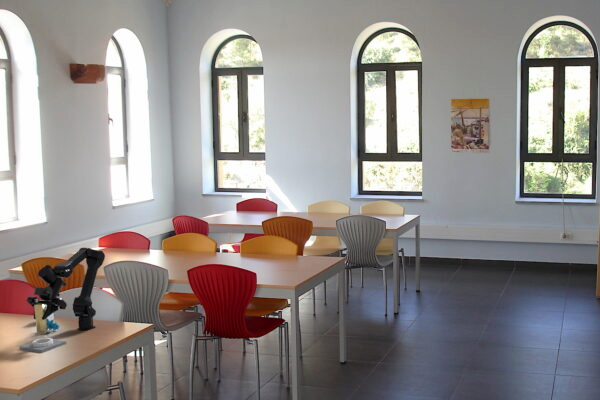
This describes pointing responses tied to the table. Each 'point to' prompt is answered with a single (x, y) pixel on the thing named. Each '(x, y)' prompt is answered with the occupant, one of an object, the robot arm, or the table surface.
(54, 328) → the gear
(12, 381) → the table surface
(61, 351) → the table surface
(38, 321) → the brass shaft
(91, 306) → the robot arm
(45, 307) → the medicine box
